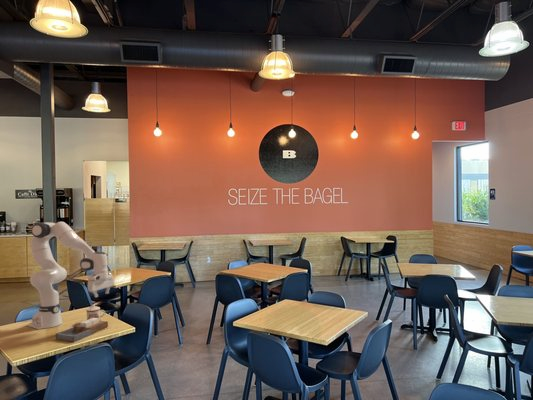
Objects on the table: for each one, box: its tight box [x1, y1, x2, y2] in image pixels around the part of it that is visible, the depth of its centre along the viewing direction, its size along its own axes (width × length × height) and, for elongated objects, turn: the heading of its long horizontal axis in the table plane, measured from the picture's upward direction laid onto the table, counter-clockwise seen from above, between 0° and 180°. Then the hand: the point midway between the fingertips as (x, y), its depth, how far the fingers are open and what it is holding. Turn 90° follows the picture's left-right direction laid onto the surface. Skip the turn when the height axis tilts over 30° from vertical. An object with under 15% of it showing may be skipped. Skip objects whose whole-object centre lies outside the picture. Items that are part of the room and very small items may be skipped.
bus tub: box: [55, 326, 91, 343], centre depth 233 cm, size 15×13×4 cm
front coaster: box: [79, 319, 93, 327], centre depth 243 cm, size 5×5×2 cm
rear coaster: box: [89, 318, 99, 324], centre depth 248 cm, size 5×5×2 cm
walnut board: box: [73, 320, 109, 336], centre depth 246 cm, size 15×14×4 cm
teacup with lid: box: [85, 304, 106, 321], centre depth 264 cm, size 12×9×12 cm
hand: (101, 295), depth 255 cm, fingers open, 8 cm apart
